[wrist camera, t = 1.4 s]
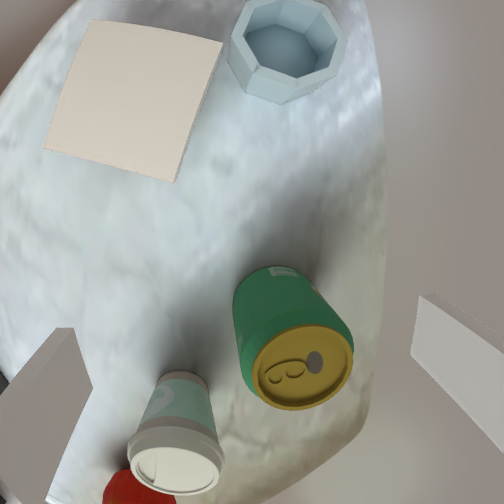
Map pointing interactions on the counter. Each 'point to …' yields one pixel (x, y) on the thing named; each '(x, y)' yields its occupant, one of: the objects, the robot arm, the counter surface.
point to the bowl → (285, 48)
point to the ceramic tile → (133, 97)
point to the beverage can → (290, 340)
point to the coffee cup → (177, 438)
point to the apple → (132, 491)
